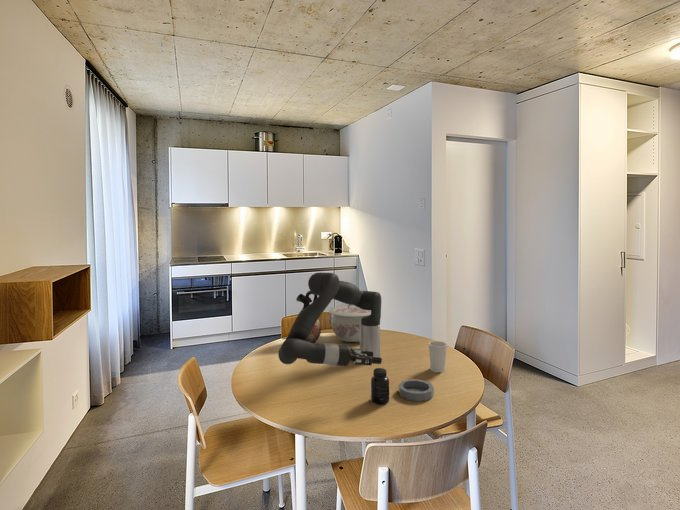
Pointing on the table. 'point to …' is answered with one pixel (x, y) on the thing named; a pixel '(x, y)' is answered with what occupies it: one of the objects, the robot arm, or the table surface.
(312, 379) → the table surface
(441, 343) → the cup
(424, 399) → the dish
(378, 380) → the supplement bottle
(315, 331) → the ceramic jug
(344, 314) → the chamber pot
